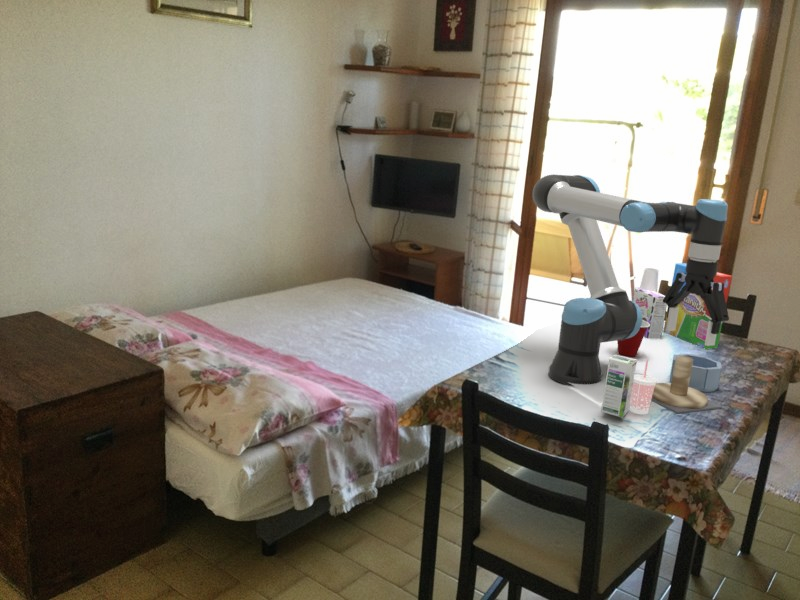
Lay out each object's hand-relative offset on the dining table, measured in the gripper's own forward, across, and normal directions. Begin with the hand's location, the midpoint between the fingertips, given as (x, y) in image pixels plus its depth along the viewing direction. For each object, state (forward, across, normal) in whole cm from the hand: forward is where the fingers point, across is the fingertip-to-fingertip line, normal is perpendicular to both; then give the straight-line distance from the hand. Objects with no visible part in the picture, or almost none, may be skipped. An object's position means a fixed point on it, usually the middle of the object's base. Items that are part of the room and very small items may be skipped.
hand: (689, 337), depth 181 cm
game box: (+18, +44, -48) cm, 67 cm away
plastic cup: (+18, +36, -14) cm, 43 cm away
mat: (+18, 0, 0) cm, 18 cm away
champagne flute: (+18, +58, -39) cm, 72 cm away
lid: (+17, 0, 0) cm, 17 cm away
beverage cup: (+18, -4, +17) cm, 25 cm away
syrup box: (+18, -3, +24) cm, 30 cm away
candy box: (+18, +55, -38) cm, 69 cm away
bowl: (+18, +9, -15) cm, 25 cm away
